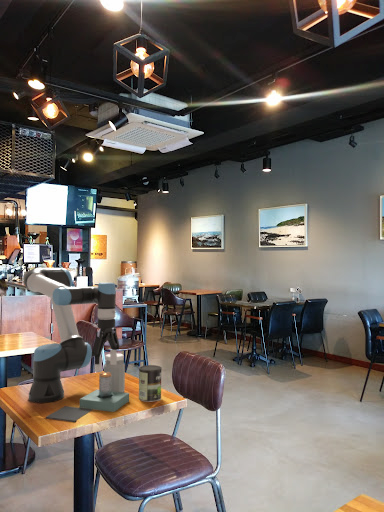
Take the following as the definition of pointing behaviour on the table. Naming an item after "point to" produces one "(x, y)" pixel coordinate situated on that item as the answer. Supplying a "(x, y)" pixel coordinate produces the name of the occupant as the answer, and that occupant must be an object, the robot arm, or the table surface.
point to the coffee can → (150, 383)
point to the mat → (68, 414)
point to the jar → (116, 373)
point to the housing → (104, 401)
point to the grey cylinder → (105, 385)
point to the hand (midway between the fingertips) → (105, 368)
